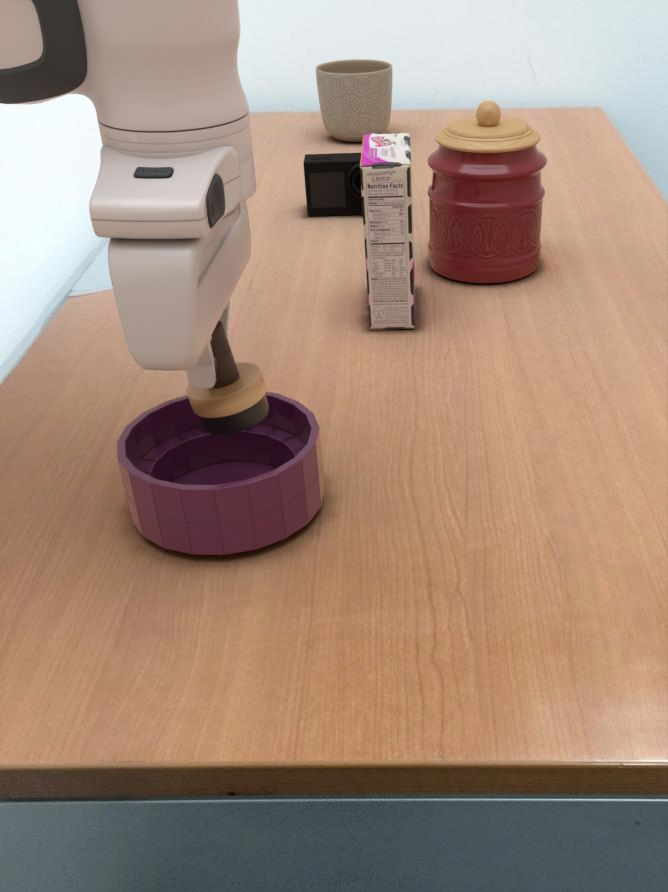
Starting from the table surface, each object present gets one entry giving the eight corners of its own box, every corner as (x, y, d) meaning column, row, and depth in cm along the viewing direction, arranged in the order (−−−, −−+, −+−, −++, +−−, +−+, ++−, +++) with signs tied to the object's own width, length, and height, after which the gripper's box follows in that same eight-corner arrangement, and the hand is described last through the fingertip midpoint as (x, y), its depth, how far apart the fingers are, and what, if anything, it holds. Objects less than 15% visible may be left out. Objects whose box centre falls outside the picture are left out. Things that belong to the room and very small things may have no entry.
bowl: (108, 560, 66) (89, 488, 63) (160, 454, 78) (146, 388, 74) (311, 563, 65) (304, 490, 62) (333, 456, 77) (328, 389, 73)
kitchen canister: (559, 258, 112) (572, 95, 102) (506, 294, 104) (514, 120, 93) (464, 239, 118) (466, 84, 108) (406, 272, 109) (403, 106, 99)
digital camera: (306, 219, 126) (301, 164, 121) (308, 207, 130) (304, 153, 126) (385, 217, 126) (383, 162, 122) (384, 204, 130) (382, 151, 126)
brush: (192, 442, 67) (156, 351, 63) (208, 405, 71) (176, 318, 67) (265, 430, 66) (234, 337, 62) (278, 393, 70) (249, 304, 66)
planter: (316, 131, 164) (311, 61, 158) (387, 126, 166) (385, 57, 160) (324, 149, 154) (319, 75, 148) (400, 144, 156) (398, 71, 150)
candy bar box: (368, 289, 105) (361, 132, 96) (414, 288, 105) (411, 131, 96) (366, 331, 96) (358, 162, 87) (415, 330, 96) (413, 161, 87)
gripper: (171, 123, 67) (198, 311, 75) (77, 217, 50) (125, 444, 59) (261, 123, 67) (278, 311, 75) (195, 218, 50) (227, 446, 58)
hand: (210, 371), depth 66 cm, fingers closed on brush, 2 cm apart
